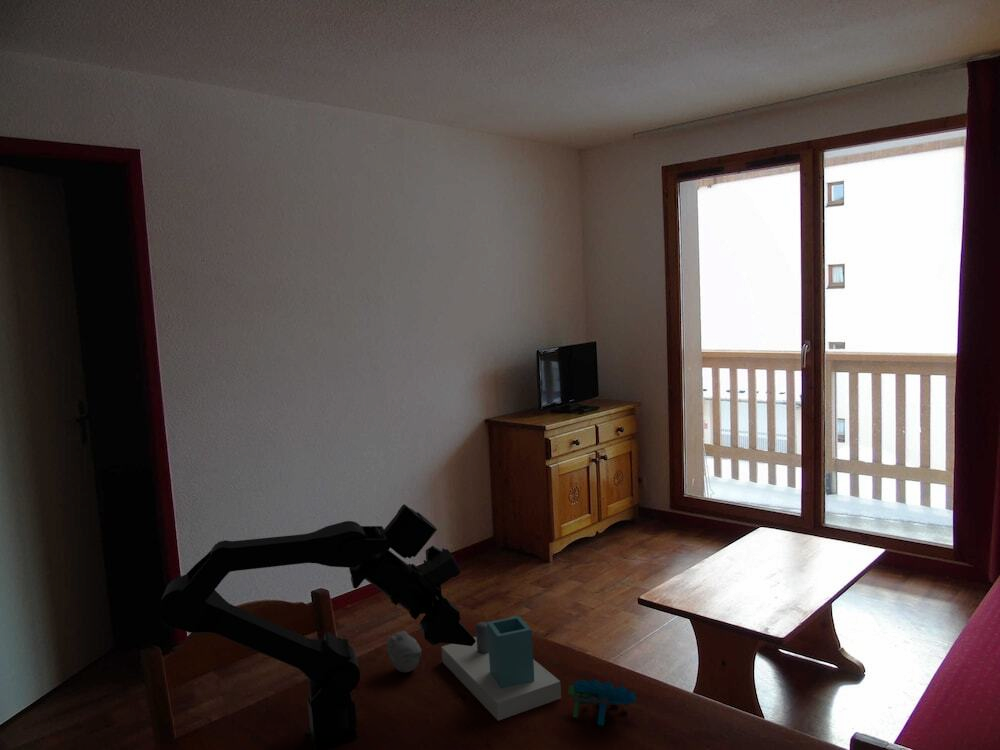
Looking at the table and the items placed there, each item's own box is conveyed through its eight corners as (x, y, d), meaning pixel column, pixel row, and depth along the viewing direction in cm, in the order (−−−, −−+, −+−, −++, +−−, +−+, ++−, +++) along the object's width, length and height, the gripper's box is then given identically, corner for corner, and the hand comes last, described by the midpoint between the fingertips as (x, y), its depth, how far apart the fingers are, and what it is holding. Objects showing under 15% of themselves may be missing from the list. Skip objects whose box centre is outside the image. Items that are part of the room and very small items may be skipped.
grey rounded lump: (403, 658, 137) (401, 623, 137) (430, 668, 133) (428, 632, 132) (380, 672, 133) (377, 636, 132) (407, 682, 128) (404, 645, 128)
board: (498, 720, 115) (495, 673, 114) (442, 661, 135) (439, 621, 134) (561, 698, 120) (558, 652, 119) (498, 644, 141) (496, 605, 140)
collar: (500, 688, 119) (497, 636, 118) (490, 671, 124) (486, 622, 124) (534, 680, 121) (531, 629, 120) (522, 664, 126) (519, 615, 125)
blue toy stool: (645, 698, 116) (623, 677, 109) (642, 738, 112) (618, 718, 106) (583, 693, 121) (558, 672, 115) (578, 730, 118) (552, 711, 111)
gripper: (441, 556, 107) (515, 614, 112) (416, 523, 125) (480, 574, 129) (393, 617, 105) (469, 672, 110) (374, 574, 123) (441, 624, 128)
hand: (466, 631), depth 119 cm, fingers open, 9 cm apart
